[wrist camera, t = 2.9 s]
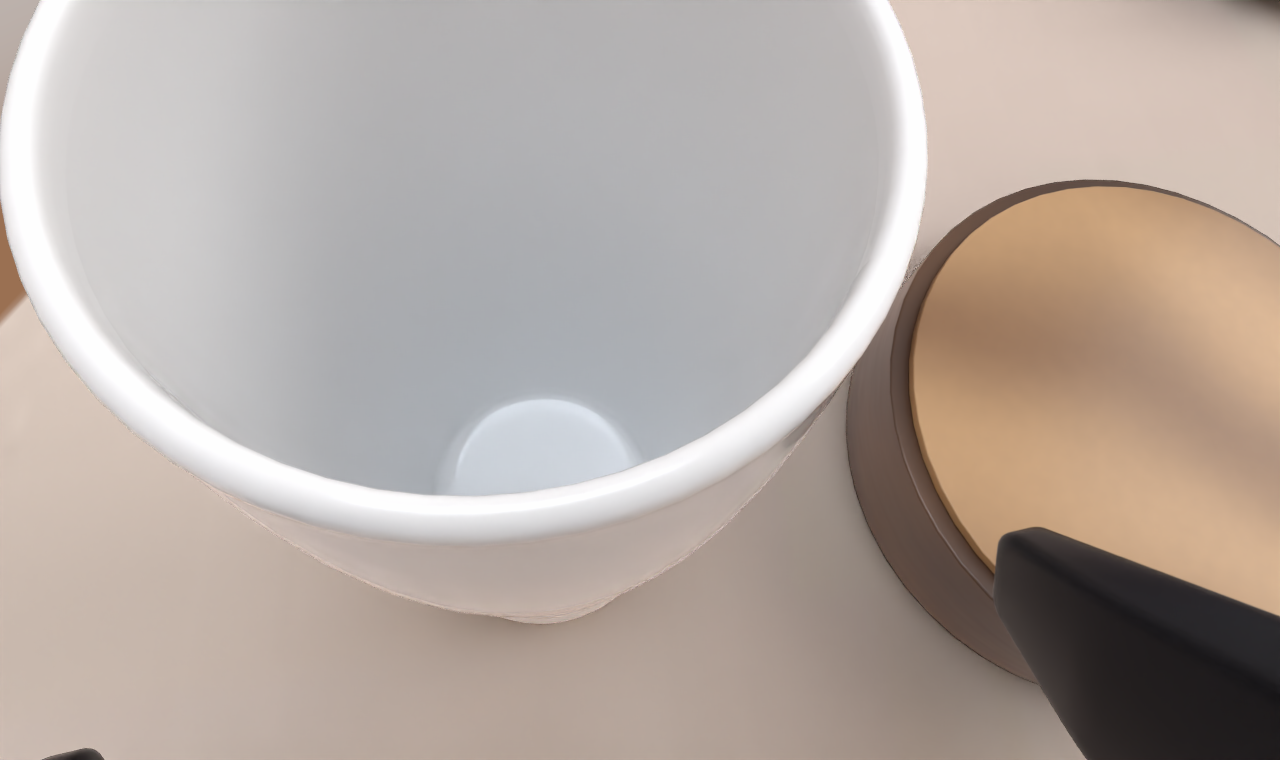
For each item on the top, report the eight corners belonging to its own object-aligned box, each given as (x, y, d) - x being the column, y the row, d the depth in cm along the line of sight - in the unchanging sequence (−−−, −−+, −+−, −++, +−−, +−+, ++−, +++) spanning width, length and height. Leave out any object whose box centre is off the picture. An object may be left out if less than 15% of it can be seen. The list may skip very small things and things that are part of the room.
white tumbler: (729, 601, 20) (1121, 364, 6) (441, 705, 18) (28, 731, 4) (633, 344, 22) (745, -296, 8) (369, 422, 20) (-68, -172, 6)
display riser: (1331, 744, 20) (1485, 754, 16) (823, 647, 19) (874, 637, 16) (1281, 289, 24) (1394, 224, 21) (864, 207, 24) (911, 129, 20)
